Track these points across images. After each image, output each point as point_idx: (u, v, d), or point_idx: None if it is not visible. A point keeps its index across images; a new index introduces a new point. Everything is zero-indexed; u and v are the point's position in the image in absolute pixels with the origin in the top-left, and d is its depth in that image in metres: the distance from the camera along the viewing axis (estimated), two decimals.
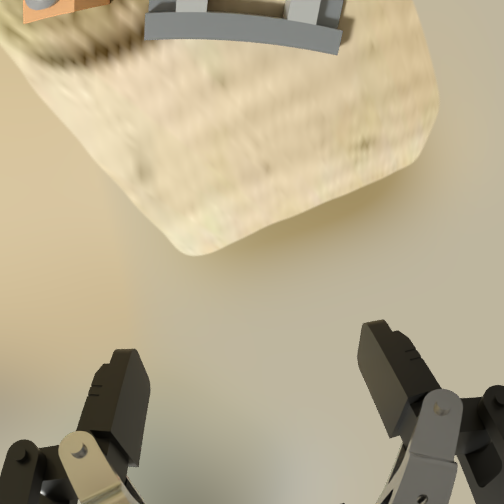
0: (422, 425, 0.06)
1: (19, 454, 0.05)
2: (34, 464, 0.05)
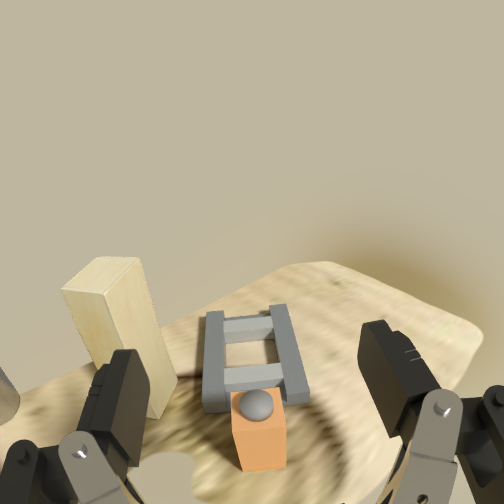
0: (422, 425, 0.06)
1: (19, 454, 0.05)
2: (34, 464, 0.05)
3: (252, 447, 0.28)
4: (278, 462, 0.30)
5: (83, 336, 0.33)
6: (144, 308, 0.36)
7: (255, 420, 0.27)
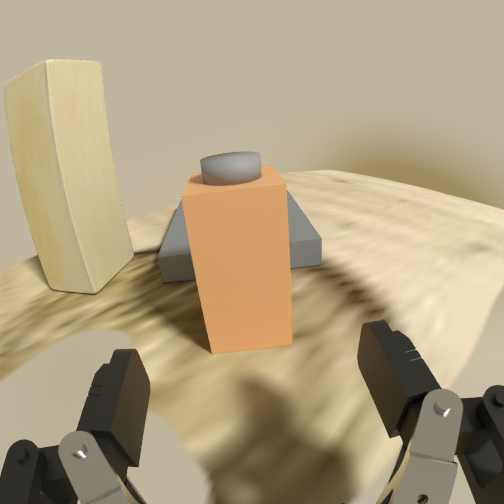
0: (422, 425, 0.06)
1: (19, 454, 0.05)
2: (34, 464, 0.05)
3: (222, 260, 0.17)
4: (277, 324, 0.19)
5: (13, 150, 0.21)
6: (95, 118, 0.25)
7: (227, 179, 0.16)
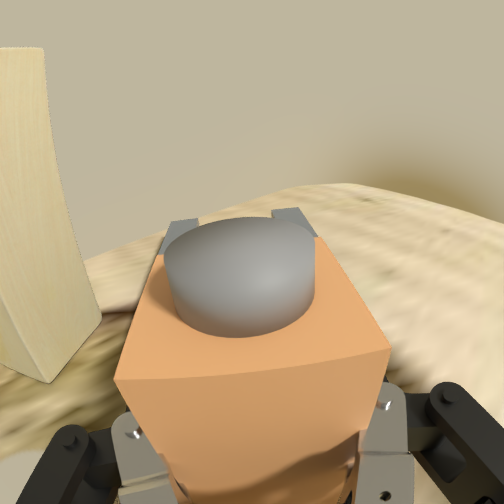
0: None
1: (68, 439, 0.06)
2: (85, 449, 0.06)
3: (227, 466, 0.07)
4: (316, 503, 0.09)
5: None
6: (32, 131, 0.15)
7: (234, 326, 0.06)
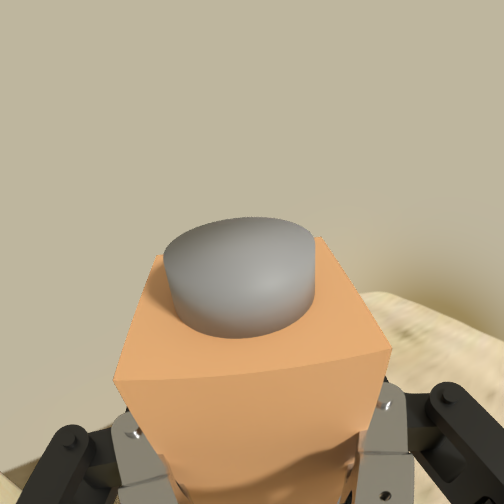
0: None
1: (68, 440, 0.06)
2: (85, 449, 0.06)
3: (226, 467, 0.07)
4: (316, 503, 0.09)
5: None
6: None
7: (233, 326, 0.06)
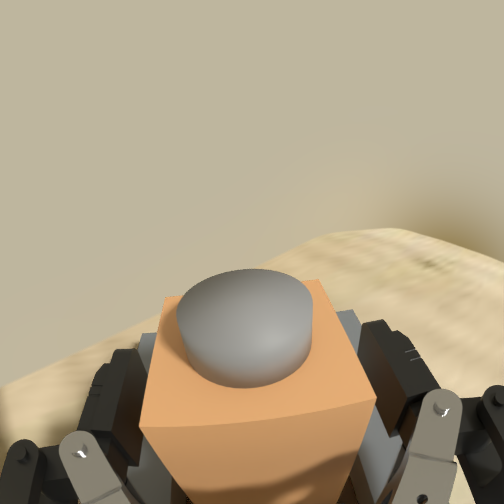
0: (421, 425, 0.06)
1: (20, 454, 0.05)
2: (34, 464, 0.05)
3: (234, 487, 0.07)
4: None
5: None
6: None
7: (241, 380, 0.06)
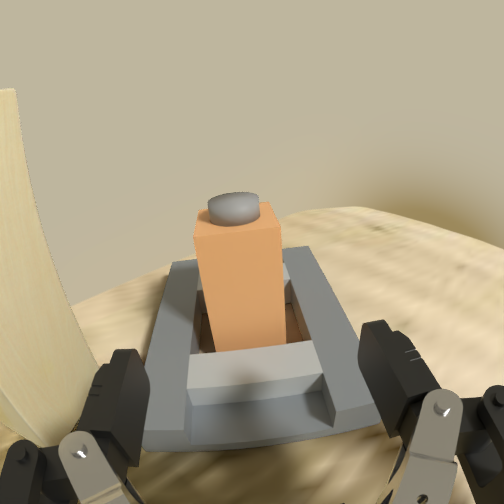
0: (422, 425, 0.06)
1: (19, 453, 0.05)
2: (34, 464, 0.05)
3: (228, 288, 0.20)
4: (273, 338, 0.22)
5: None
6: (8, 193, 0.13)
7: (231, 221, 0.19)
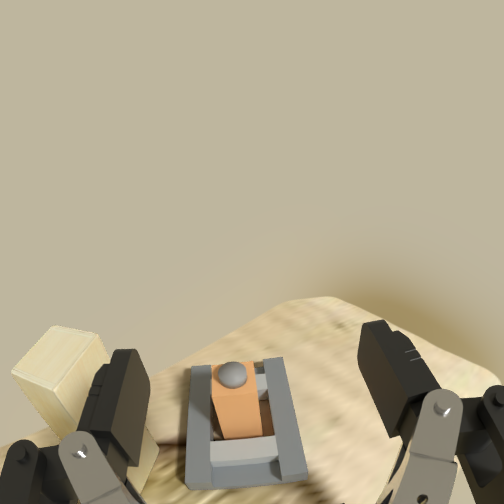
0: (422, 425, 0.06)
1: (19, 454, 0.05)
2: (34, 464, 0.05)
3: (230, 413, 0.34)
4: (255, 430, 0.36)
5: (44, 418, 0.24)
6: None
7: (231, 387, 0.33)
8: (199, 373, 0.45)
